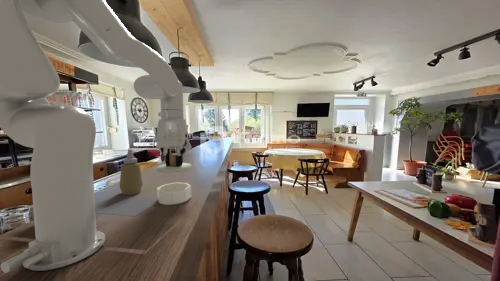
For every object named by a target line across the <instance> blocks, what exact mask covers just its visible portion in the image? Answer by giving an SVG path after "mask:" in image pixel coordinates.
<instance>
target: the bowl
mask: <svg viewBox="0 0 500 281" xmlns="http://www.w3.org/2000/svg"><path fill="white" fill-rule="evenodd" d="M190 198H192V185H191V184H189V183H188V182H171V183H165V184H163V185H160V186H159V187H158V186H157V187H156V199H157V200H158V203H159V204H160V205H161V204H162V205H165V206H166V205H170V206H171V205H172V206H173V205H177V204H178V205H179V204H182V203H185V202H187V201H189V200H190Z"/></svg>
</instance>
